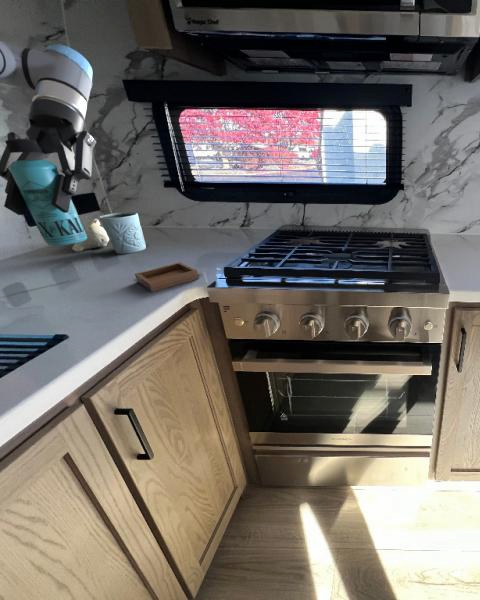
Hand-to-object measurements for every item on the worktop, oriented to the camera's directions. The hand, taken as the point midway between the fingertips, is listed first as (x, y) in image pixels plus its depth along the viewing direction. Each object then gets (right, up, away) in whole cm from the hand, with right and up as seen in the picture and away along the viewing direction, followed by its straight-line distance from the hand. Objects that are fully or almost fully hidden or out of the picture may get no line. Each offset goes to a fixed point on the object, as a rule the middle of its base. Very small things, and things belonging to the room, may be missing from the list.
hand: (37, 209), depth 60 cm
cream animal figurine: (-44, +3, +59) cm, 74 cm away
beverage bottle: (0, -6, +7) cm, 9 cm away
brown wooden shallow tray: (+4, -11, +28) cm, 31 cm away
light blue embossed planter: (-27, +1, +54) cm, 61 cm away
